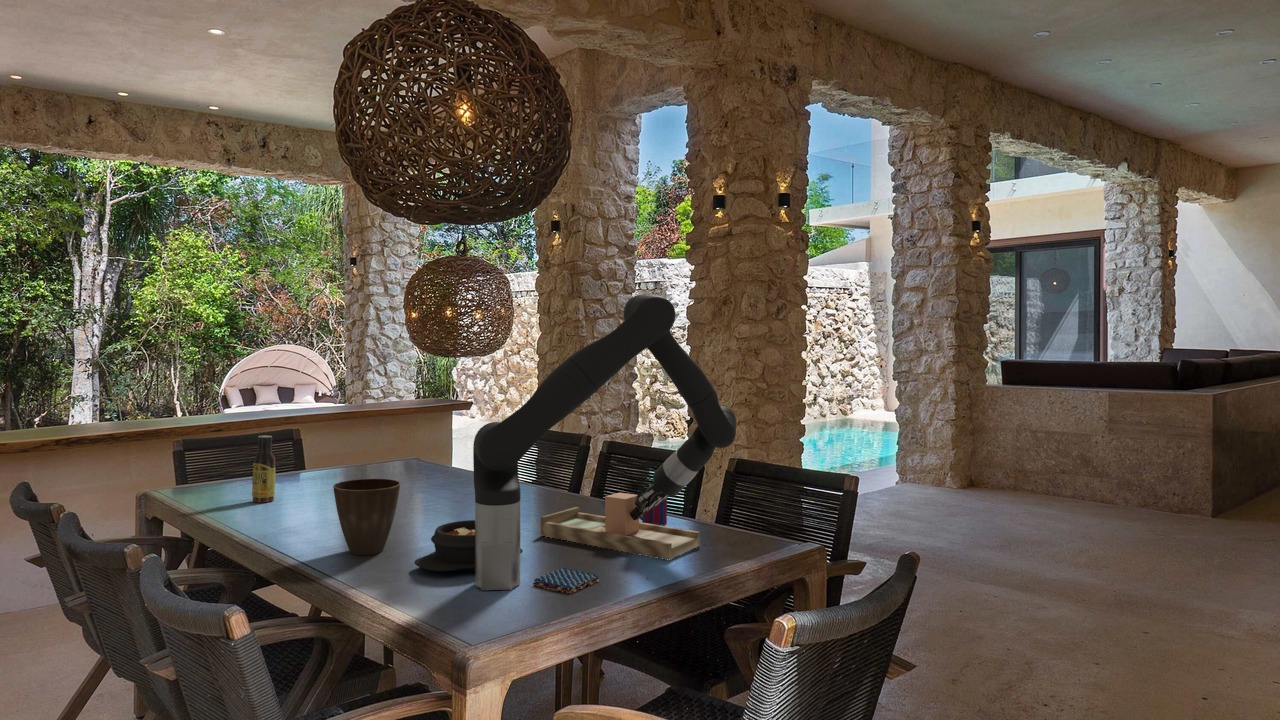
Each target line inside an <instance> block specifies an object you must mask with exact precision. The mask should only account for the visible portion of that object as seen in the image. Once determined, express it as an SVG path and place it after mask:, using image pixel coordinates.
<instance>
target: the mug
mask: <svg viewBox="0 0 1280 720" xmlns="http://www.w3.org/2000/svg"><path fill="white" fill-rule="evenodd" d="M667 516H668V497H667V498H666V499H665V500H663V501H662V502H661V503H659V504H658V505H657V506H655V507H654V508H651V509H650V510H648V511H647V510H646V512H645V513H644V514H643V515H642V516H641V517H640V518H639V520H640V521H641V522H643V523H648V524H655V525H661V524H664V525H666V524H667V523H668V521H667V520H668V517H667ZM661 526H662V525H661Z"/></svg>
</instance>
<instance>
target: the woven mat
mask: <svg viewBox="0 0 1280 720" xmlns="http://www.w3.org/2000/svg"><path fill="white" fill-rule="evenodd" d="M533 581H534V582H532V585H536V586H539V587H538V588H540V587H544V588H543V589H545V588H549V589H548V590H550V589H553V590H552V591H554V590H557V591H556V592H558V591H562V592H561V593H563V592H568V593H577V591H576V590H579V589H582V590H583V589H584V588H583V587H585V586H586V585H588V586H592V585H594V584H593V583H596V582H598V583H599V582H600V578H599V575H596V573H592V574H591V573H590V572H586V573H585V572H584V571H578V570H577V569H575V570H572V568H568V569H566V567H562V568H559V569H557V570H556V571H555V570H553V571H552V572H548V573H546V574H543V575H540V576H539V577H535V578H534V580H533ZM594 581H595V582H594ZM536 586H535V587H536ZM577 588H579V589H577Z"/></svg>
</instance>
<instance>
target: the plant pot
mask: <svg viewBox="0 0 1280 720" xmlns="http://www.w3.org/2000/svg"><path fill="white" fill-rule="evenodd" d="M400 487H401V482H400V481H398V480H396V479H391V478H389V479H387V478H359V479H358V478H357V479H350V480H344V481H343V480H342V481H340V482H337V483H335V484H334V485H333V486H332V489H333V494H334V495H333V496H334V501H335V502H334V503H335V507H336V512H337V516H338V520H339V525H340V528H341V530H342V531H341V532H342V535H343V537H344V540H345V543H346V545H347V547H348V550H349V553H350V554H352V555H355V556H372V555H377V554H379V553H382V552H383V551H384V549H385V546H386V543H387V541H388V538H389V535H390V532H391V529H392V526H393V524H394V523H393V522H394V518H395V514H396V510H397V505H398V501H399V495H400Z"/></svg>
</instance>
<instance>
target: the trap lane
mask: <svg viewBox="0 0 1280 720" xmlns="http://www.w3.org/2000/svg"><path fill="white" fill-rule="evenodd" d="M541 536H545V537H544V538H547V537H550V538H549V539H552V538H556V539H555V540H557V539H561V540H560V541H562V540H567V541H566V542H568V541H573V542H579V543H583V544H582V545H584V544H588V545H587V546H589V545H593V546H592V547H594V546H599V547H598V548H600V547H603V548H602V549H605V548H609V549H608V550H610V549H613V550H612V551H616V550H618V551H617V552H621V551H623V552H622V553H626V552H629V553H628V554H632V553H635V554H634V555H637V554H641V555H640V556H642V555H647V556H652V557H651V558H653V557H658V558H663V559H668V560H667V561H670V560H669V559H671V558H673V559H675V558H674V557H676V556H678V555H680V554H682V553H684V552H687V551H689V550H691V549H693V548H696V547H698V546H700V547H701V544H700V543H701V532H700V531H696V530H690V529H684V528H678V527H672V526H667V525H666V526H665V525H655V524H648V523H642V521H641V522H640V521H639V531H638V532H635V533H632V534H629V535H621V534H615V533H609V532H605V516H604V515H599V514H598V515H597V514H593V513H586V512H580V507H579V506H574V507H571V508H567V509H564V510H560V511H557V512H553V513H549V514H546V515H542V516H540V537H541ZM573 542H572V543H573ZM698 548H699V547H698ZM696 549H697V548H696ZM689 552H690V551H689ZM687 553H688V552H687ZM647 556H646V557H647ZM680 556H681V555H680ZM678 557H679V556H678ZM658 558H657V559H658ZM676 558H677V557H676ZM663 559H662V560H663ZM671 560H672V559H671Z"/></svg>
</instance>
